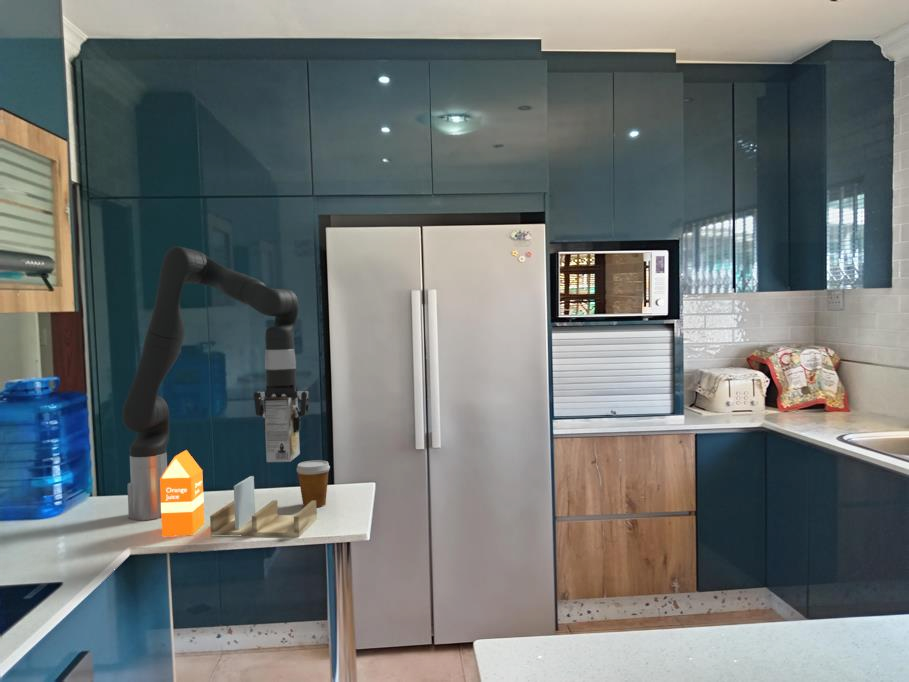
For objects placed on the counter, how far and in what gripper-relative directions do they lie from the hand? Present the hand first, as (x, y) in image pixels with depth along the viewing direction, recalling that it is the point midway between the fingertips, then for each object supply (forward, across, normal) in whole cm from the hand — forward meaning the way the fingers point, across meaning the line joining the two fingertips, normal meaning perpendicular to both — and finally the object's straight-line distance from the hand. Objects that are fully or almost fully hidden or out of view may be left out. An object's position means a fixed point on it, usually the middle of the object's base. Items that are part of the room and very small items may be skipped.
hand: (282, 431), depth 165 cm
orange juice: (+25, -26, -3) cm, 36 cm away
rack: (+25, -5, 0) cm, 25 cm away
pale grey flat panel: (+25, -11, 0) cm, 27 cm away
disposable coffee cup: (+25, +1, +20) cm, 32 cm away
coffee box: (+7, 0, 0) cm, 7 cm away
